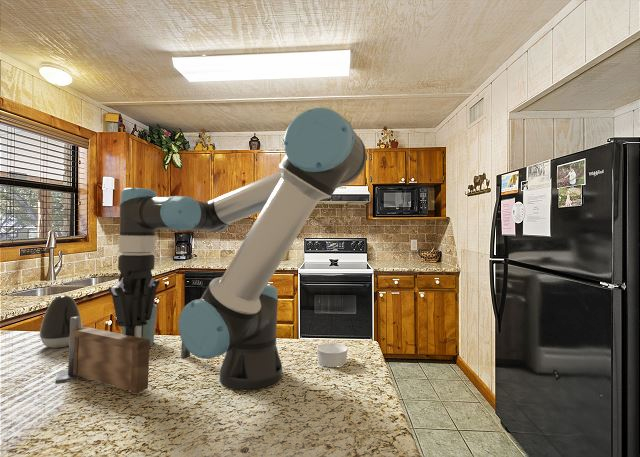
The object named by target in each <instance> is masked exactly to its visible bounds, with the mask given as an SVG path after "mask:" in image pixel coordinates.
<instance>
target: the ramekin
mask: <svg viewBox="0 0 640 457" xmlns="http://www.w3.org/2000/svg"><path fill="white" fill-rule="evenodd" d="M348 351H349V348H348V347H347V345H344V344H342V343H337V342H326V343H325V342H324V343H321V344H318V345H317V346H316V354H317V355H316V356H317V362H318V364H319V365H320V364H321V365H323V366H322V367H324V366H328V367H337V366H341V365H344V364H345V363H346V364H347V358H348ZM346 364H345V365H346ZM321 365H320V366H321ZM345 365H344V366H345ZM328 367H327V368H328Z"/></svg>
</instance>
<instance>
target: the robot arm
mask: <svg viewBox="0 0 640 457" xmlns="http://www.w3.org/2000/svg"><path fill="white" fill-rule="evenodd" d="M283 143H284V153H285V154H284V156H283V157H282V159H281V161H280V162H279V164H278V166H279V168H278V169H279V171H277V172H274V173H272V174H270V175H266V176H265V177H262V178H260V179H258V180H255V181H253V182H251V183H248V184H246V185H243V186H241V187H238V188H237V189H234V190H231V191H229V192H227V193H224V194H222V195H220V196H218V197H215V198H213V199H210V200H208V201H201V200H195V199H194V198H193V197H191V196H182V195H173V196H157V192H156V191H155V190H153V189H150V188H141V187H126V188H124V189H122V191H121V195H120V203H119V206H118V207H119V226H118V228H119V230H118V231H119V232H118V234H119V235H118V252H119V253H120V254H119V255H118V257H117V269H118V271H119V272H120V275H119V277H118V282H117V283H116V284H115V285H114V286H111V285H110V286H109V287H108V292H109V293H110V295H111V297H112V303H113V307H114V312H115V318H116V323H117V326H118V327H122V326H123V327H125V328H126V335H129V336H134V337H139V338H142V336H143V325H146V324H147V322H145V321H147V320H150V318H151V314H152V309H153V304H155V298H156V293H157V290H158V287H159V285H160V283H161V282H160V280H159V279H157V280H156V279H155V278H153V274H152V271H153V270H154V269H155V258H156V256H155V255H154V254H153V253H155V252H156V230H168V231H169V230H171V231H172V230H173V231H201V232H210V233H215V232H221V231H225V230H226V229H227V228H228V227H229V226H230V225H231V224H233V223H235V222H238V221H241V220H243V219H246V218H249V217H251V216H254V215H256V214H259V215H258V216H257V218H256V219H255V221H254V222H253V224H252V226H251V227H250V230H249V231H248V233H247V234H246V236H245V238H244V239H243V241H242V243H241V245H240V246H239V248H238V250H237V251H236V253H235V255H234V257H233V258H232V259H231V261H230V263H229V265H228V266H227V268H226V270H225V271H224V273H223V275H222V276H220V277H219V276H218V277H215V278H213V279H212V280H210V282H209V284H208V286H207V287H206V289H205V290H204V293H203V294H202V296H201V297H200V298H199V299H194V300H191V301H190V302H189V303H187V304H186V305H184V307H183V308H182V309H181V312H180V314H179V317H178V324H177V325H178V326H177V327H178V331H179V334H180V338H181V339H180V340H181V343H182V342H183V344H184V345H185V347H186V348H187V349H188V350H189V351H190V354H191V355H193V356H195V357H196V358H199V359H202V360H206V359H207V360H211V359H214V358H217V357H220V356H222V355H224V354H225V355H224V357H223V360H222V363H221V366H220V370H219V382H220V384H221V385H223V386H224V387H225V386H226V388H228V389H230V388H231V390H234V389H235V390H236V391H243V390H250V391H259V390H263V388H264V389H267V388H271V387H272V385H273V386H274V384H275V385H276V384H278V383H279V382H280V381H281V380H282V378H283V364H282V362H281V358H280V355H279V354H280V353H279V351H278V347H277V330H278V329H277V325H278V302H279V298H278V289H277V287H276V286H274V285H271V284H269V282H270V280H271V279H272V277H273V276H274V274H275V273H276V271H277V269H278V267H279V266H280V264H281V262H282V261H283V259H284V258H285V256H286V254H287V253H288V252H289V250H290V248H291V246H292V245H293V244H294V242H295V240H296V239H297V237H298V235H299V234H300V232H301V231H302V229H303V228H304V226H305V224H306V222H307V221H308V219H309V217H310V216H311V214H312V213H313V212H314V209H315V208H316V206H317V204H318V203H319V202H320V201H321V200H326V199H329V198H331V197H332V196H333V194H334V192H335V191H336V189H338V188H341V187H344V186H346V185H348V184H350V183H353V182H354V181H355V180H357V178H358V177H359V176H360V175H361V174H362V173H363V171H364V168H365V167H366V163H367V155H368V154H367V150H366V146H365V143H364V142H363V140H362V139H361V138H360V136H359V135H358V134H357V133H356V132H355V131H354V129H353V127H352V124H351V123H350V122H349V121H348V120H347V119H346V118H344V117H343V116H342V115H341V114H340V113H338V112H337V111H335V110H333V109H331V108H327V107H313V108H311V109H307V110H305V111H302V112H301V113H299V114H298V115H297V116H295V118H293V119H292V121H291V122H290V123H289V125H288V126H287V128H286V130H285V134H284V139H283ZM145 314H146V315H145ZM280 379H281V380H280ZM279 380H280V381H279ZM278 381H279V382H278ZM277 382H278V383H277ZM258 389H259V390H258Z"/></svg>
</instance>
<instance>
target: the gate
mask: <svg viewBox="0 0 640 457" xmlns="http://www.w3.org/2000/svg"><path fill="white" fill-rule="evenodd" d="M73 337H75V343H74V364H73V375H76V376H77V375H78V376H81V377H84V378H83V379H88V380H92V381H95V382H98V383H102V384H106V385H108V386H113V387H116V388H119V389H123V390H126V391H129V392H130V393H132V394H135V395H137V394H139V393H141V392H143V391H146V390H147V389H149V372H150V371H149V370H150V369H149V368H150V349H151V348H150V347H151V346H150V340H149V339H144V338H139V337H134V336H129V335H124V334H122V333H118V332H113V331H108V330H104V329H100V328H99V329H98V328H93V327H88V326H82V328H78V329H73Z"/></svg>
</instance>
